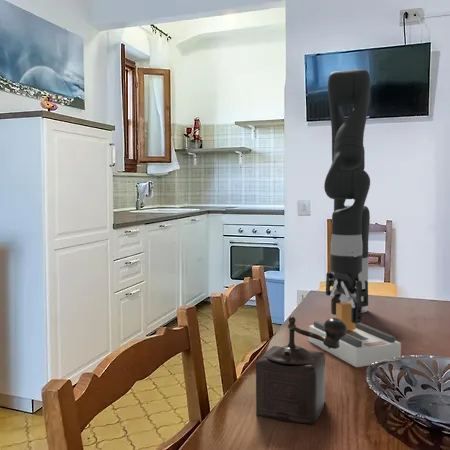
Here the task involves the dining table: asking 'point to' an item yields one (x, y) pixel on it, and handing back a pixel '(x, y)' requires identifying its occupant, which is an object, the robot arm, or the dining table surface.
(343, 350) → the breaker panel
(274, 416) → the manual coffee grinder
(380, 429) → the dining table surface
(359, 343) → the pair of grey rails
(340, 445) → the dining table surface
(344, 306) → the block
